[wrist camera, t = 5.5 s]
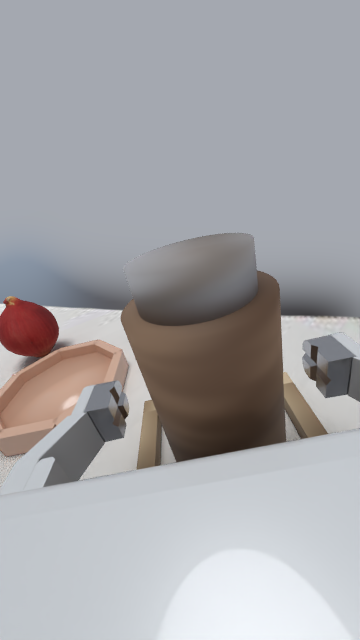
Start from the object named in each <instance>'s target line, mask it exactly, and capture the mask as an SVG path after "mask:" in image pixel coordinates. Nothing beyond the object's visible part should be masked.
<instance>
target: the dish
mask: <svg viewBox="0 0 360 640" xmlns="http://www.w3.org/2000/svg"><path fill="white" fill-rule="evenodd" d="M128 366H129V365H128V363H127V361H126V358H125V356H124V353H123V351H122V349H120V348H117V347H115V346H113V345H111V344H108V343H106V342H104V341H102V340H94V341H89V342H85V343H81V344H76V345H72V346H67V347H63V348H60V349H59V350H58V349H57V350H55V351H54V352H52V353H50V354H48V355H47V356H45V357H43V358H41V359H40V360H38V361H36V362H34V363H33V364H31V365H29V366H27V367H26V368H24V369H22V370H20V371H19V372H17V373H15V375H13V376H12V377H11V378H10V379H9V380H8V381H7V382H6V384H5V385H4V386H3V387H2V388H1V389H0V451H1V452H2V453H3V454H4V455H5V456H7V457H8V456H13V455H18V454H23V453H27V452H28V451H29V450H30V449H31V448H33V447H34V446H35V445H36V444H37V443H38V442H39V441H40V440H42V439H43V438H44V437H45V436H46V435H47V434H48V433H49V432H50V431H52V430H53V429H54V428H55V427H56V426H57V425H58V424H59V423H60V422H62V421H63V420H64V419H65V418H66V417H67V416H70V415H71V414H72V412H73V410H74V408H75V405H76V403H77V401H78V399H79V397H80V394H81V392H82V390H83V388H85V387H86V386H91V385H96V384H101V383H106V382H111V381H116V380H118V381H120V383H121V385H122V390H121V392H122V391H123V387H124V383H125V379H126V374H127V370H128Z"/></svg>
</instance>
